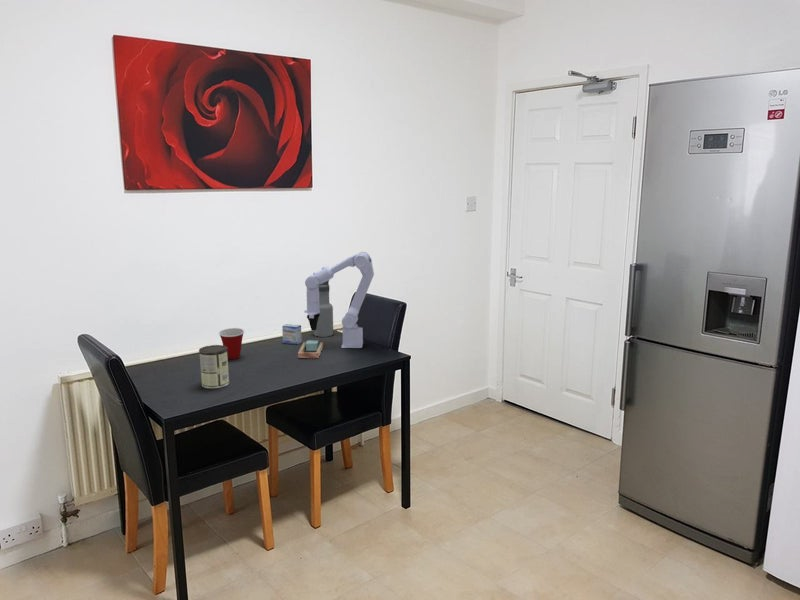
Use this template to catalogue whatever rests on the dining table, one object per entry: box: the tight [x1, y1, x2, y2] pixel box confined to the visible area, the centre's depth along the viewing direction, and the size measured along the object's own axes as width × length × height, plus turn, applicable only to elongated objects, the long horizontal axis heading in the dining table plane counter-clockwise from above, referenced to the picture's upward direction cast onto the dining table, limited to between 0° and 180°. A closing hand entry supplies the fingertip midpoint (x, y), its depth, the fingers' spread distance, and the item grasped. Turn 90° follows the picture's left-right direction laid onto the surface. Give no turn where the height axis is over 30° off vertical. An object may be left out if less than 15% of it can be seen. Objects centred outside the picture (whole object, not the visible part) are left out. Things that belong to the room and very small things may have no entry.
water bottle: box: [313, 280, 334, 338], centre depth 308 cm, size 10×10×28 cm
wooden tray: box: [297, 341, 324, 360], centre depth 280 cm, size 9×18×2 cm, turn 1°
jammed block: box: [305, 339, 319, 352], centre depth 284 cm, size 5×5×4 cm
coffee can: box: [198, 344, 230, 389], centre depth 237 cm, size 10×10×14 cm
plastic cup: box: [218, 327, 245, 360], centre depth 271 cm, size 11×11×12 cm
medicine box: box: [281, 323, 303, 345], centre depth 296 cm, size 8×4×9 cm, turn 73°
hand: (313, 330), depth 291 cm, fingers closed
